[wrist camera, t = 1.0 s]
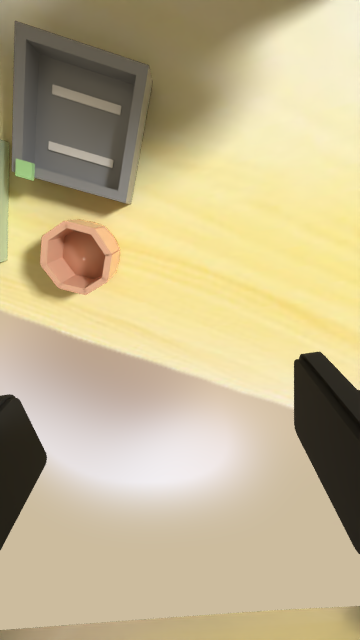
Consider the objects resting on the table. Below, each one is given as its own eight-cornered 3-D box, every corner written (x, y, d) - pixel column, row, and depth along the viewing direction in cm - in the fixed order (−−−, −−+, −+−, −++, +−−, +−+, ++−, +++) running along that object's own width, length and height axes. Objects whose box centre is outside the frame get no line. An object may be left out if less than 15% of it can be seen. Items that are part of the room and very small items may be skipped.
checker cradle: (34, 43, 27) (10, 16, 23) (152, 82, 28) (148, 62, 24) (29, 178, 31) (8, 173, 27) (130, 206, 32) (124, 206, 29)
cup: (63, 213, 33) (43, 214, 28) (124, 230, 33) (115, 234, 29) (57, 273, 36) (38, 283, 31) (114, 287, 36) (104, 299, 31)
